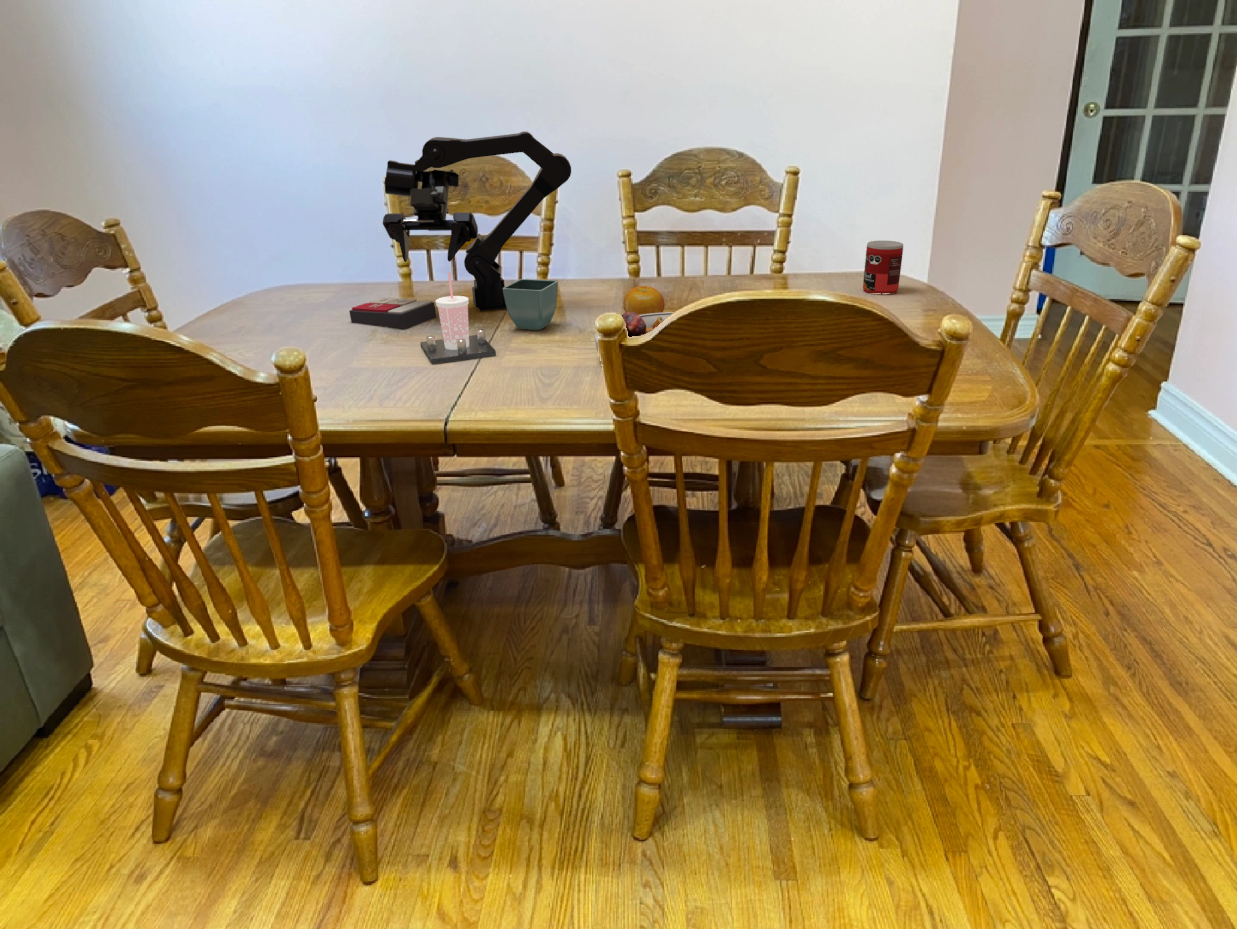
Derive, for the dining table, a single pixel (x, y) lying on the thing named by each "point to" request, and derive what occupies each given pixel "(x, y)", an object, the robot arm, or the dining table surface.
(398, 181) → the robot arm
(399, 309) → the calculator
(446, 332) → the beverage cup
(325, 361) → the dining table surface
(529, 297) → the flower pot
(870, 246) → the canned food
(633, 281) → the dining table surface
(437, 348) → the chassis plate
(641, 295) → the fruit
